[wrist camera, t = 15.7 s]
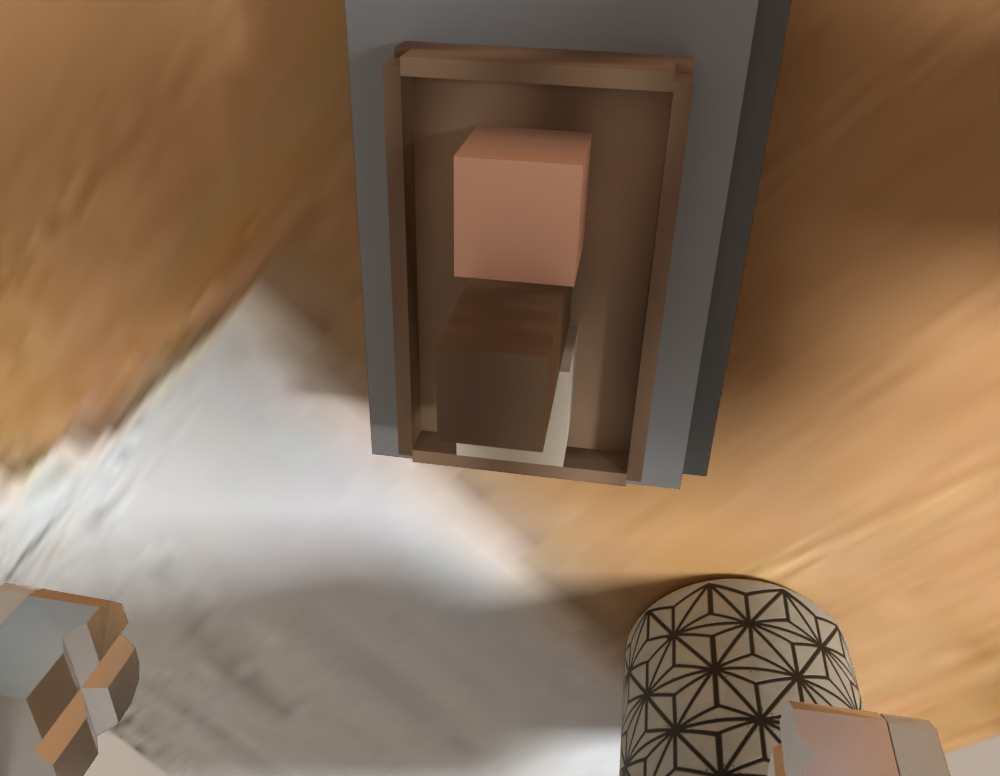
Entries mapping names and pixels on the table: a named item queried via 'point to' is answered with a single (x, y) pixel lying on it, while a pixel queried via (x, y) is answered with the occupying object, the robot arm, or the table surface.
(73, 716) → the robot arm
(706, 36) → the loading dock
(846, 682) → the lamp
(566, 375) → the cream block
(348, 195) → the table surface
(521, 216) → the terracotta block
